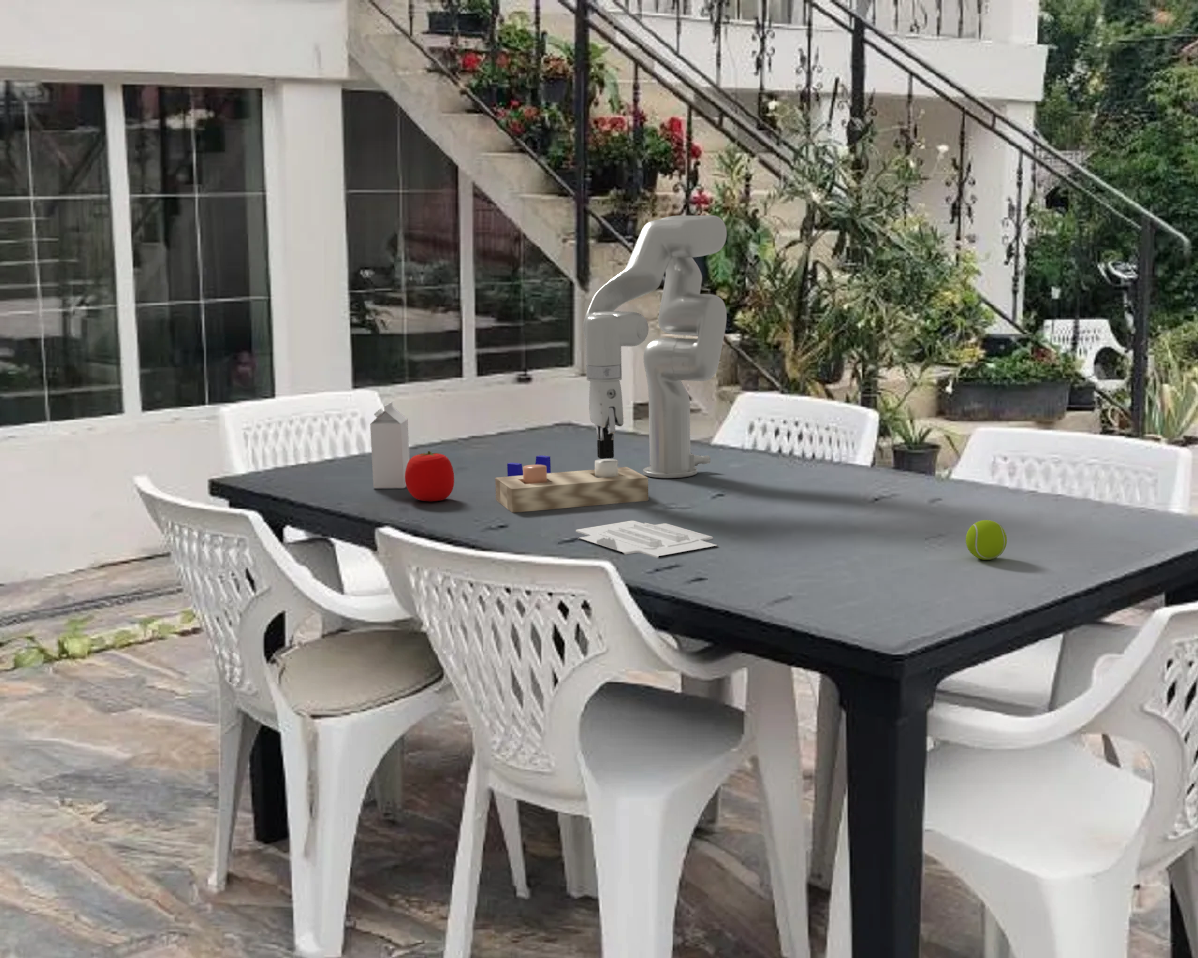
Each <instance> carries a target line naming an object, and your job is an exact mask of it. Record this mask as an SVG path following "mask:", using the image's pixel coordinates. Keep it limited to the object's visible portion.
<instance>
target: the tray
mask: <svg viewBox="0 0 1198 958" xmlns="http://www.w3.org/2000/svg"><path fill="white" fill-rule="evenodd" d="M575 533H578V534H582V535H585V536H581V537H578V538H577V540H584V541H587V542H590V543H594V544H596V545H598V546H599V545H600V546H602V547H606V548H608V549H611V550H614V551H618V552H619V553H620V552H622V553H623V555H631V554H636V553H637V554H638V553H639V554H643V555H646V556H649V557H653V558H655V559H659V556H666V555H672V554H677V553H682V552H687V551H688V552H689V551H694V550H701V549H704V548H710V547H711V548H712V547H716V548H719V545H718V544H714V543H711V542H708V540H709V541H710V540H713V539H714V537H713V536H711V535H708V534H705V533H700V532H697V531H693V530H690V529H686V528H683V527H680V526H677V525H672V524H669V523H666V522H665V523H658V524H652V523H648V522H644V523H643V522H639V521H637V520H628V521H621V522H615V523H609V524H603V525H597V526H590V527H585V528H579V529H575Z"/></svg>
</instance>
